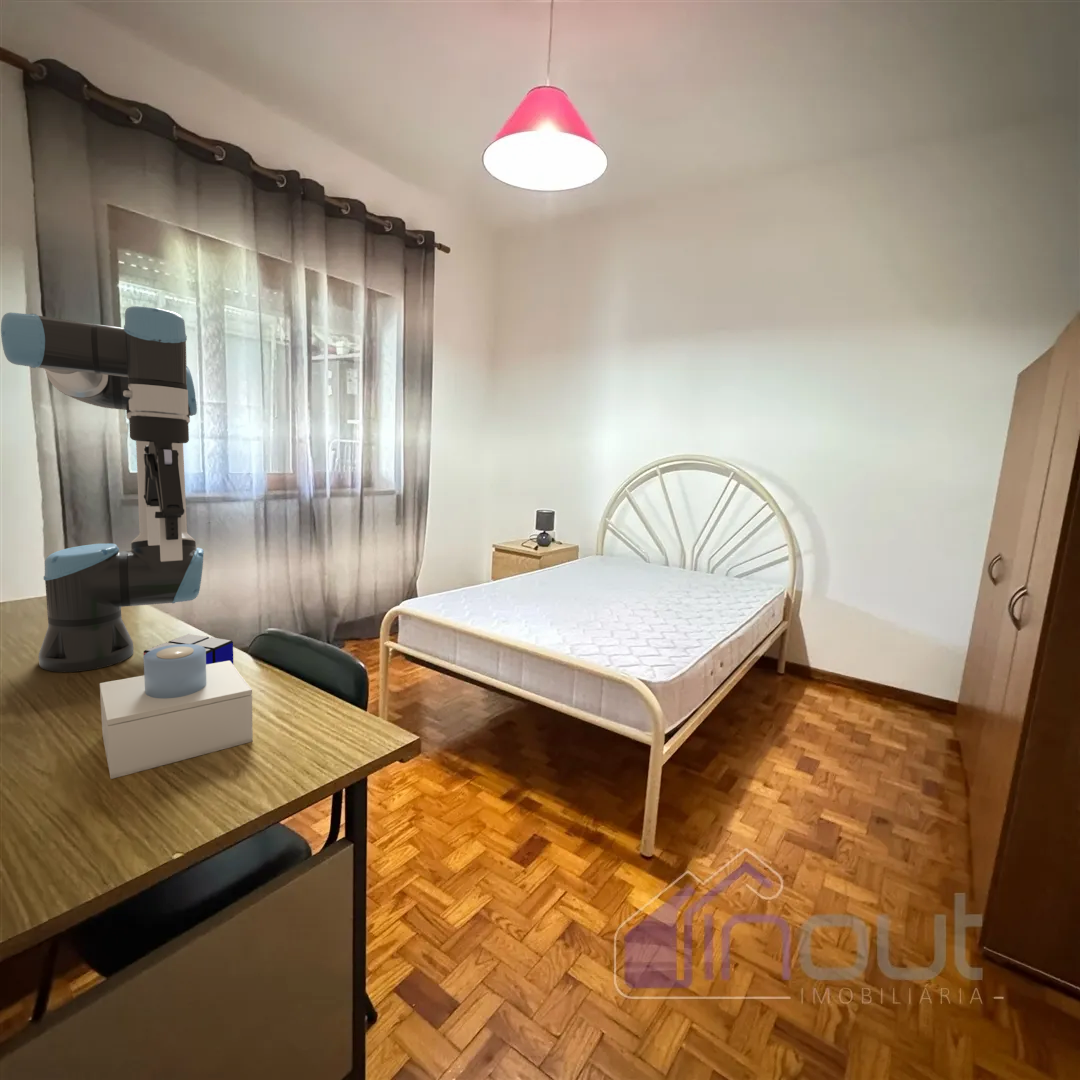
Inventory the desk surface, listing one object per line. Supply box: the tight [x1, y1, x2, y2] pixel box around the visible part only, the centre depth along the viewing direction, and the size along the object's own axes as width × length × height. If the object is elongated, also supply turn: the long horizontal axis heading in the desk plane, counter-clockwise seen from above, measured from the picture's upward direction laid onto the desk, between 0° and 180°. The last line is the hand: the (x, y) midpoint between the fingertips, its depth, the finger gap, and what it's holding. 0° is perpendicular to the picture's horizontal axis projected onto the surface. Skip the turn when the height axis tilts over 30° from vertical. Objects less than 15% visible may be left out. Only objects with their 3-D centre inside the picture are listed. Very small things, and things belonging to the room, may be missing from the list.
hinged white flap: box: [99, 661, 253, 725], centre depth 87 cm, size 14×18×1 cm
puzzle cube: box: [143, 633, 234, 665], centre depth 102 cm, size 10×10×10 cm
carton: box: [99, 690, 254, 780], centre depth 88 cm, size 14×18×8 cm
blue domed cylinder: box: [143, 644, 207, 698], centre depth 86 cm, size 8×8×6 cm
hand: (164, 552), depth 89 cm, fingers open, 13 cm apart
